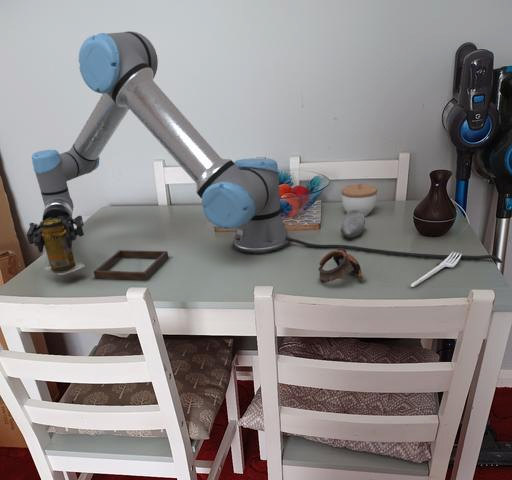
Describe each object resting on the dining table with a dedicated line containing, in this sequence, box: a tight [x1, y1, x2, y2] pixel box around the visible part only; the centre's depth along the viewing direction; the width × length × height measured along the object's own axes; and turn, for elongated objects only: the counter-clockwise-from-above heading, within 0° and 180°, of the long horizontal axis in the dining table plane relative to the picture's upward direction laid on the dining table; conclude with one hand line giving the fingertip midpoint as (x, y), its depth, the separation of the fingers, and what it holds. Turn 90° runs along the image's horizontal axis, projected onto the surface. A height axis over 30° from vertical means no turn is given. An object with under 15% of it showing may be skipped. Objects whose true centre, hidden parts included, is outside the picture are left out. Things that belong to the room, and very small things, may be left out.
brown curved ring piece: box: [318, 248, 364, 283], centre depth 123 cm, size 12×10×8 cm
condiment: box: [39, 219, 86, 276], centre depth 131 cm, size 7×8×12 cm
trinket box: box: [341, 182, 378, 217], centre depth 160 cm, size 11×11×9 cm
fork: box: [410, 251, 463, 288], centre depth 122 cm, size 3×20×2 cm, turn 134°
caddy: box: [93, 249, 169, 281], centre depth 139 cm, size 15×15×2 cm
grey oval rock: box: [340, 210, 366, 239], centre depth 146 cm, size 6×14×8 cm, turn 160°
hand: (54, 244), depth 126 cm, fingers closed on condiment, 6 cm apart
